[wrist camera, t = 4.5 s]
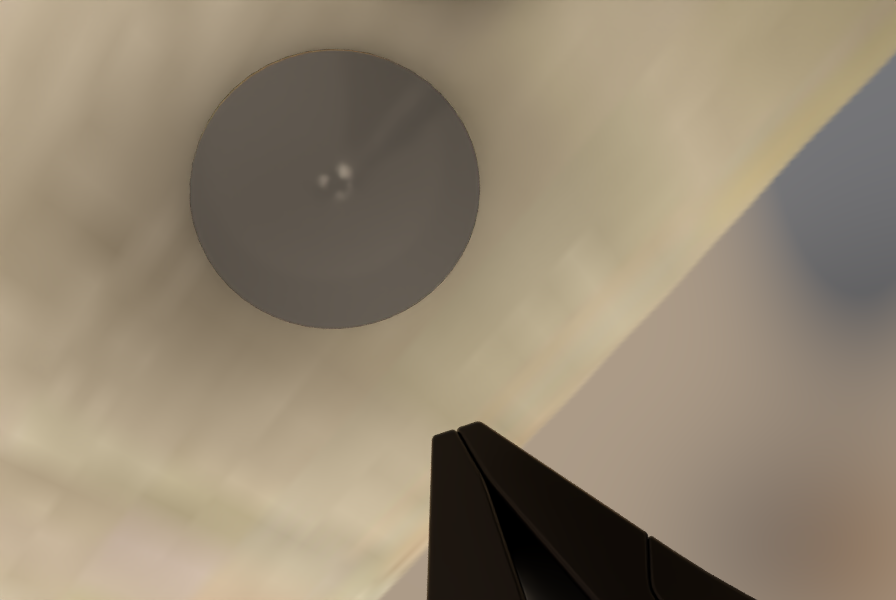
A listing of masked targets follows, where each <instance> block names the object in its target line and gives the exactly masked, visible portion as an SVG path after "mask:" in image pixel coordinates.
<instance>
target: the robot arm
mask: <svg viewBox="0 0 896 600" xmlns="http://www.w3.org/2000/svg"><path fill="white" fill-rule="evenodd" d="M427 600H756V599H754V598H753V597H751V596H749V595H747V594H745V593H743V592H742V591H740V590H738V589H736V588H735V587H733V586H731V585H729V584H727V583H726V582H724V581H722V580H721V579H719V578H717V577H715V576H714V575H712V574H710V573H708V572H707V571H705V570H703V569H702V568H700V567H699V566H697V565H696V564H694V563H692V562H691V561H689V560H688V559H686V558H685V557H683V556H681V555H680V554H678V553H677V552H675V551H673V550H672V549H671V548H669V547H668V546H666V545H665V544H663V543H662V542H660V541H659V540H657V539H656V538H654V537H653V536H650V537H648V534H647V533H646V532H645V531H643V530H642V529H640V528H639V527H637V526H636V525H634V524H633V523H631V522H630V521H628V520H627V519H626V518H624V517H623V516H621V515H620V514H618V513H617V512H615V511H614V510H612V509H611V508H609V507H608V506H606V505H604V504H603V503H602V502H600V501H599V500H597V499H596V498H594V497H593V496H591V495H590V494H588V493H587V492H585V491H584V490H582V489H581V488H579V487H578V486H576V485H575V484H573V483H572V482H570V481H568V480H567V479H566V478H564V477H563V476H561V475H560V474H558V473H557V472H555V471H554V470H552V469H551V468H549V467H548V466H546V465H545V464H543V463H542V462H540V461H539V460H537V459H536V458H534V457H533V456H531V455H530V454H528V453H527V452H525V451H524V450H523V449H521V448H520V447H518V446H517V445H515V444H514V443H512V442H511V441H509V440H508V439H506V438H505V437H503V436H502V435H500V434H499V433H497V432H496V431H494V430H493V429H491V428H490V427H488V426H487V425H485V424H484V423H482V422H478V421H477V422H474V423H471V424H468V425H464V426H461V427H459V428H458V429H457V431H455V430H449V431H446V432H443V433H440V434H437V435H435V436H433V438H432V453H431V485H430V516H429V547H428V579H427Z"/></svg>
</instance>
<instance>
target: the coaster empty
mask: <svg viewBox="0 0 896 600" xmlns="http://www.w3.org/2000/svg"><path fill="white" fill-rule="evenodd" d="M479 195H480V184H479V171H478V165H477V159H476V155H475V152H474V148H473V145H472V142H471V139H470V137H469V135H468V133H467V131H466V129H465V126H464V124H463V123H462V121H461V120H460V118H459V116H458V115H457V113H456V112H455V110H454V109H453V107H452V106H451V105H450V104H449V103H448V102H447V100H446V99H445V98H444V97H443V96H442V94H440V93H439V92H438V91H437V90H436V89H435V88H434V87H433V86H431V85H430V84H429V83H428V82H427V81H425V80H424V79H422V78H421V77H419V76H418V75H416V74H415V73H413V72H412V71H410V70H409V69H407V68H405V67H403V66H401V65H399V64H397V63H395V62H393V61H390V60H388V59H385V58H382V57H379V56H376V55H373V54H370V53H364V52H359V51H353V50H340V49H325V50H316V51H307V52H303V53H299V54H295V55H292V56H288V57H285V58H283V59H280V60H278V61H275V62H273V63H271V64H268V65H266V66H265V67H263V68H261V69H260V70H258V71H256V72H255V73H253V74H251V75H250V76H248V77H247V78H246V79H245V80H244V81H242V82H241V83H240V84H239V85H237V86H236V87H235V88H234V89H233V90H232V91H231V92H230V93H229V94H228V95H227V96H226V98H225V99H224V100H223V101H222V102H221V103H220V104H219V106H218V107H217V109H216V110H215V112H214V113H213V115H212V116H211V118H210V119H209V121H208V123H207V125H206V127H205V129H204V131H203V133H202V135H201V138H200V140H199V143H198V147H197V150H196V153H195V157H194V160H193V165H192V172H191V179H190V206H191V212H192V218H193V223H194V226H195V230H196V233H197V236H198V239H199V242H200V244H201V246H202V248H203V250H204V252H205V254H206V256H207V258H208V260H209V261H210V263H211V264H212V266H213V267H214V269H215V270H216V272H217V273H218V274H219V276H220V277H221V278H222V279H223V280H224V281H225V282H226V284H227V285H228V286H229V287H230V288H231V289H233V290H234V291H235V292H236V293H237V294H238V295H239V296H240V297H242V298H243V299H244V300H246V301H247V302H249V303H250V304H252V305H253V306H255V307H256V308H258V309H260V310H261V311H263V312H265V313H267V314H269V315H271V316H273V317H276V318H279V319H282V320H284V321H287V322H290V323H294V324H298V325H302V326H307V327H315V328H329V329H341V328H350V327H358V326H363V325H367V324H372V323H376V322H378V321H381V320H384V319H387V318H390V317H392V316H394V315H396V314H399V313H401V312H403V311H405V310H406V309H408V308H410V307H411V306H413V305H415V304H416V303H418V302H419V301H421V300H422V299H423V298H425V297H426V296H427V295H428V294H430V293H431V292H432V291H433V290H434V289H435V288H436V287H437V286H438V285H439V284H440V283H441V282H442V281H443V280H444V279H445V278H446V277H447V275H448V274H449V273H450V272H451V271H452V269H453V268H454V267H455V265H456V263H457V262H458V260H459V259H460V257H461V256H462V254H463V252H464V250H465V248H466V246H467V244H468V242H469V240H470V237H471V234H472V231H473V228H474V225H475V221H476V216H477V212H478V206H479Z"/></svg>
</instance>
